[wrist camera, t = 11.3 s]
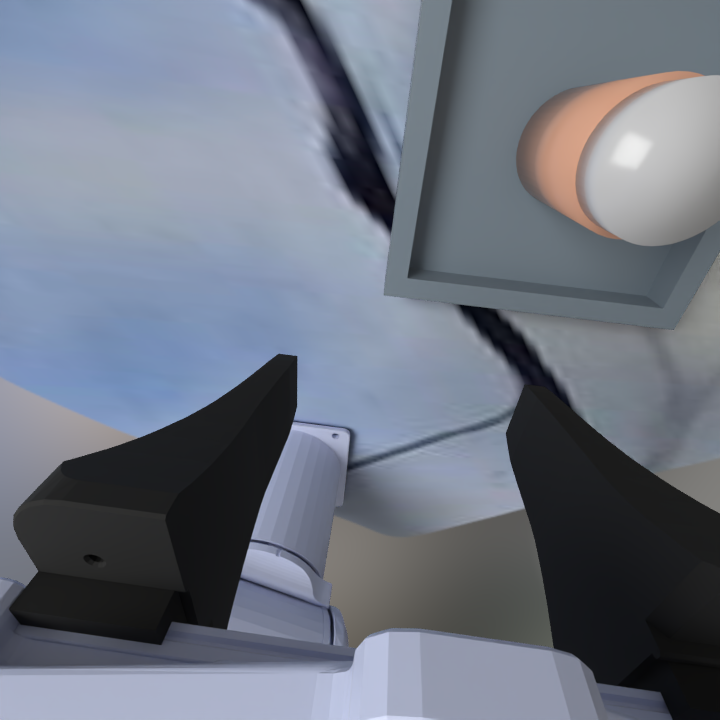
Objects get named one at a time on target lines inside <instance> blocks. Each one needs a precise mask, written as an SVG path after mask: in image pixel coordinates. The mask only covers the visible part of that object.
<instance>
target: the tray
mask: <svg viewBox="0 0 720 720" xmlns="http://www.w3.org/2000/svg"><path fill="white" fill-rule="evenodd" d="M673 71H689V72H694V73H699V74H702V75H704V76H710V75H720V0H422V1H421V9H420V17H419V24H418V32H417V40H416V47H415V55H414V63H413V70H412V78H411V86H410V93H409V101H408V109H407V116H406V124H405V132H404V139H403V147H402V155H401V162H400V170H399V178H398V185H397V193H396V201H395V208H394V216H393V224H392V231H391V239H390V247H389V254H388V262H387V270H386V277H385V287H384V295H385V296H393V297H402V298H410V299H418V300H427V301H435V302H444V303H452V304H460V305H469V306H477V307H485V308H494V309H502V310H510V311H519V312H527V313H535V314H544V315H552V316H561V317H569V318H577V319H586V320H594V321H602V322H611V323H619V324H627V325H636V326H644V327H653V328H661V329H669V330H674V329H675V327H676V325H677V324H678V322H679V320H680V319H681V317H682V315H683V314H684V312H685V310H686V308H687V307H688V305H689V303H690V302H691V300H692V298H693V296H694V295H695V293H696V291H697V290H698V288H699V286H700V284H701V283H702V281H703V279H704V278H705V276H706V274H707V272H708V271H709V269H710V267H711V266H712V264H713V262H714V260H715V259H716V257H717V255H718V254H719V252H720V220H719V221H718V222H717V223H715V224H714V225H712V226H711V227H709V228H708V229H706V230H705V231H703V232H701V233H699V234H697V235H695V236H693V237H691V238H688V239H686V240H683V241H680V242H677V243H673V244H668V245H663V246H642V245H637V244H633V243H630V242H627V241H625V240H623V239H612V238H607V237H604V236H601V235H598V234H597V233H595V232H593V231H591V230H589V229H588V228H586V227H584V226H582V225H581V224H579V223H577V222H575V221H574V220H572V219H570V218H568V217H567V216H565V215H563V214H561V213H560V212H558V211H556V210H554V209H553V208H551V207H549V206H547V205H546V204H544V203H542V202H540V201H539V200H537V199H535V198H534V197H532V196H531V195H530V194H529V193H528V192H527V191H526V190H525V188H524V187H523V185H522V184H521V181H520V179H519V176H518V173H517V167H516V154H517V148H518V143H519V140H520V137H521V135H522V132H523V130H524V128H525V126H526V125H527V123H528V121H529V120H530V118H531V117H532V116H533V114H534V113H535V112H536V111H537V110H538V109H539V108H540V107H541V106H542V105H543V104H544V103H545V102H546V101H548V100H549V99H550V98H552V97H553V96H555V95H557V94H559V93H560V92H563V91H565V90H568V89H571V88H575V87H580V86H586V85H592V84H598V83H604V82H610V81H616V80H622V79H628V78H634V77H640V76H646V75H653V74H659V73H665V72H673Z"/></svg>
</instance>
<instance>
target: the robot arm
mask: <svg viewBox="0 0 720 720" xmlns="http://www.w3.org/2000/svg"><path fill="white" fill-rule="evenodd" d="M296 408H297V356H292V355H284V354H278V355H276V356H275V357H274V358H272V359H271V360H270V361H269V362H267V363H266V364H265V365H264V366H262V367H261V368H260V369H259V370H257V371H256V372H255V373H254V374H252V375H251V376H250V377H248V378H247V379H246V380H245V381H243V382H242V383H241V384H239V385H238V386H237V387H235V388H234V389H232V390H231V391H229V392H228V393H226V394H225V395H223V396H222V397H220V398H219V399H218V400H216V401H214V402H213V403H211V404H209V405H208V406H206V407H204V408H202V409H201V410H199V411H197V412H195V413H193V414H191V415H190V416H188V417H186V418H184V419H182V420H179V421H177V422H175V423H173V424H171V425H168V426H166V427H164V428H162V429H160V430H157V431H155V432H153V433H150V434H148V435H145V436H143V437H140V438H138V439H135V440H132V441H129V442H126V443H124V444H121V445H118V446H115V447H112V448H109V449H106V450H102V451H99V452H95V453H92V454H88V455H85V456H82V457H78V458H75V459H71V460H67V461H64V462H63V463H62V464H61V465H60V466H58V467H57V469H56V470H55V471H54V472H53V473H52V474H51V475H50V476H49V477H48V478H47V479H46V480H45V481H44V482H43V483H42V484H41V485H40V486H39V487H38V488H37V489H36V490H35V491H34V492H33V493H32V494H31V495H30V496H29V497H28V499H27V500H25V502H24V503H23V504H22V505H21V506H20V507H19V508H18V510H17V511H16V512H15V514H14V519H13V520H14V521H13V526H14V530H15V532H16V534H17V537H18V539H19V540H20V542H21V544H22V545H23V547H24V548H25V550H26V552H27V553H28V555H29V557H30V558H31V560H32V561H33V563H34V565H35V566H36V568H37V569H38V573H37V574H36V575H35V576H34V578H33V579H32V580H31V581H30V583H29V584H28V585H27V586H25V585H24V584H22V583H20V582H18V581H16V580H12V579H8V578H2V577H0V720H720V513H718V512H716V511H714V510H712V509H710V508H709V507H707V506H705V505H703V504H701V503H700V502H698V501H696V500H695V499H693V498H691V497H690V496H688V495H686V494H685V493H683V492H681V491H680V490H678V489H676V488H675V487H673V486H671V485H670V484H668V483H667V482H665V481H664V480H662V479H660V478H659V477H658V476H656V475H655V474H653V473H652V472H650V471H649V470H647V469H646V468H644V467H643V466H641V465H640V464H638V463H637V462H636V461H634V460H633V459H632V458H630V457H629V456H627V455H626V454H625V453H624V452H622V451H621V450H620V449H618V448H617V447H616V446H615V445H613V444H612V443H611V442H609V441H608V440H607V439H606V438H604V437H603V436H602V435H601V434H600V433H598V432H597V431H596V430H595V429H594V428H592V427H591V426H590V425H589V424H588V423H587V422H585V421H584V420H583V419H582V418H581V417H580V416H578V415H577V414H576V413H575V412H574V411H573V410H572V409H570V408H569V407H568V406H567V405H566V404H565V403H564V402H562V401H561V400H560V399H559V398H558V397H557V396H555V395H554V394H553V393H552V392H551V391H549V390H548V389H547V388H545V387H541V386H533V385H524V388H523V390H522V393H521V396H520V398H519V401H518V403H517V406H516V409H515V411H514V414H513V416H512V419H511V421H510V424H509V427H508V429H507V432H506V437H507V444H508V450H509V456H510V461H511V465H512V468H513V471H514V475H515V478H516V481H517V484H518V487H519V490H520V493H521V497H522V500H523V503H524V506H525V509H526V512H527V515H528V518H529V521H530V524H531V527H532V531H533V535H534V539H535V543H536V548H537V552H538V557H539V562H540V567H541V572H542V577H543V583H544V589H545V594H546V599H547V605H548V612H549V619H550V626H551V632H552V639H553V646H554V649H553V648H550V647H545V646H538V645H531V644H524V643H517V642H510V641H503V640H496V639H489V638H482V637H475V636H468V635H461V634H454V633H447V632H440V631H433V630H426V629H419V628H390V629H386V630H383V631H380V632H376V633H373V634H370V635H369V636H368V637H367V638H366V639H365V640H364V641H363V642H362V643H361V644H360V645H359V647H358V648H350V647H348V636H347V630H346V627H345V625H344V620H343V617H342V614H341V612H340V610H339V609H338V608H336V607H334V606H330V605H329V603H330V597H331V589H332V584H331V583H329V582H326V581H324V580H323V575H324V570H325V564H326V558H327V552H328V546H329V540H330V534H331V528H332V522H333V516H334V510H335V507H340V506H342V505H343V501H344V492H345V482H346V473H347V463H348V454H349V444H350V432H349V430H347V429H344V428H337V427H330V426H322V425H314V424H306V423H299V422H293V420H294V416H295V412H296ZM334 433H336V434H338V435H334Z"/></svg>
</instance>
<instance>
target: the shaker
mask: <svg viewBox="0 0 720 720" xmlns="http://www.w3.org/2000/svg"><path fill="white" fill-rule="evenodd" d="M516 167H517V173H518V176H519V179H520V181H521V184H522V185H523V187H524V188H525V190H526V191H527V192H528V193H529V194H530V195H531V196H532V197H534V198H535V199H537V200H539V201H540V202H542V203H544V204H546V205H547V206H549V207H551V208H553V209H554V210H556V211H558V212H560V213H561V214H563V215H565V216H567V217H568V218H570V219H572V220H574V221H575V222H577V223H579V224H581V225H582V226H584V227H586V228H588V229H589V230H591V231H593V232H595V233H597V234H598V235H601V236H604V237H607V238H612V239H623V240H625V241H627V242H630V243H633V244H637V245H642V246H663V245H668V244H673V243H677V242H680V241H683V240H686V239H688V238H691V237H693V236H695V235H697V234H699V233H701V232H703V231H705V230H706V229H708V228H709V227H711V226H712V225H714V224H715V223H717V222H718V221H719V220H720V75H710V76H704V75H702V74H699V73H694V72H689V71H673V72H665V73H659V74H653V75H646V76H640V77H634V78H628V79H622V80H616V81H610V82H604V83H598V84H592V85H586V86H580V87H575V88H571V89H568V90H565V91H563V92H560V93H559V94H557V95H555V96H553V97H552V98H550V99H549V100H548V101H546V102H545V103H544V104H543V105H542V106H541V107H540V108H539V109H538V110H537V111H536V112H535V113H534V114H533V116H532V117H531V118H530V120H529V121H528V123H527V125H526V126H525V128H524V130H523V132H522V135H521V137H520V140H519V143H518V148H517V154H516Z"/></svg>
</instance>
